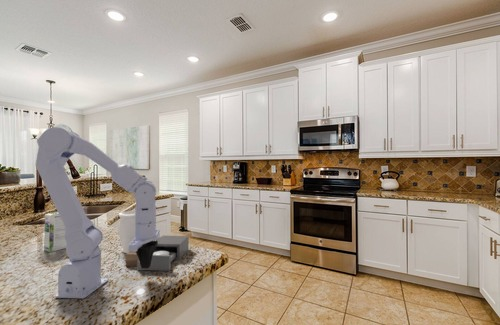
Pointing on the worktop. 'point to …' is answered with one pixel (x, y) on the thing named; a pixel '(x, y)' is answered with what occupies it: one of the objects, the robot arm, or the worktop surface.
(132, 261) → the walnut block
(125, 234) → the jar
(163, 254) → the white dome cap
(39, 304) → the worktop surface
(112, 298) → the worktop surface
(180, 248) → the block
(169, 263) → the grey drawer
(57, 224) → the syrup box
